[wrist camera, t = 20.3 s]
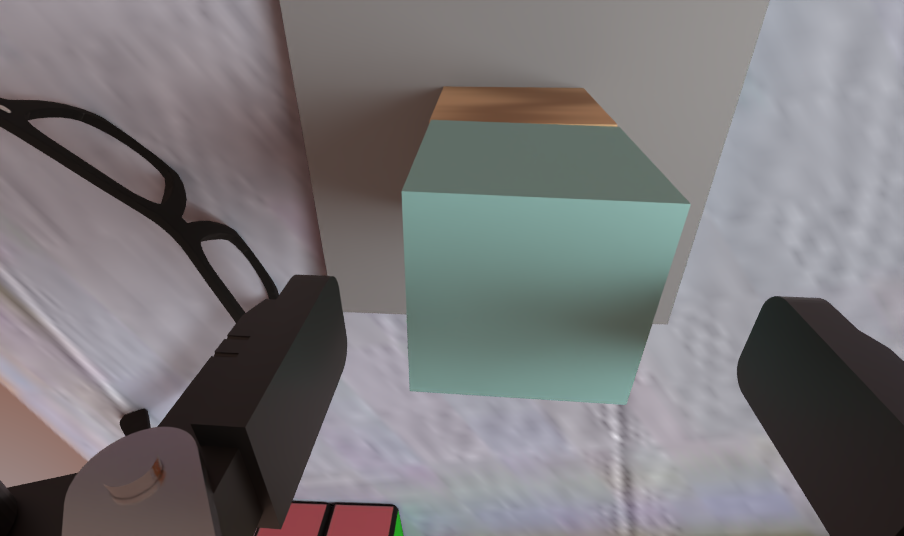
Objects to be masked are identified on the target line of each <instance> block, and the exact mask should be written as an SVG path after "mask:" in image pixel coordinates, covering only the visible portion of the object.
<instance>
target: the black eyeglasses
mask: <svg viewBox="0 0 904 536" xmlns="http://www.w3.org/2000/svg"><path fill="white" fill-rule="evenodd" d="M47 117H62V118H71V119H75V120H79V121H82V122H84V123H87V124H89V125H92V126H94V127H96V128H98V129H100V130H102V131H104V132H105V133H107V134H109V135H111V136H113V137H115V138H116V139H118V140H119V141H121V142H122V143H124V144H126V145H127V146H129V147H130V148H131V149H133V150H134V151H136V152H137V153H139V154H140V155H141V156H142V157H144V158H145V159H146V160H147V161H149V162H150V163H151V164H152V165H153V166H154V167H155V168H156V169H157V170H158V171H159V172H160V173H161V174H162V176H163V177H164V178H165V191H164V196H163V199H162V202H161V204H157V203H154V202H152V201H149V200H147V199H145V198H143V197H141V196H139V195H137V194H135V193H133V192H131V191H130V190H128V189H127V188H125V187H123V186H122V185H120V184H119V183H117V182H116V181H114V180H112V179H111V178H109V177H108V176H106V175H105V174H103V173H102V172H100V171H99V170H97V169H96V168H94V167H93V166H91V165H90V164H88V163H87V162H85V161H84V160H82V159H81V158H79V157H78V156H76V155H75V154H73V153H72V152H70V151H69V150H67V149H65V148H64V147H62V146H61V145H59V144H58V143H56V142H55V141H53V140H52V139H50V138H49V137H47V136H46V135H44V134H43V133H42V132H40V131H39V130H37V129H36V128H35V127H33V126H32V125H31V124H30V123H29V122H28V120H32V119H36V118H47ZM0 127H2V128H4V129H5V130H7V131H9V132H10V133H12V134H14V135H16V136H17V137H19V138H20V139H22V140H24V141H25V142H27V143H29V144H30V145H32V146H33V147H35V148H37V149H38V150H40V151H42V152H43V153H45V154H46V155H48V156H50V157H51V158H53V159H54V160H56V161H58V162H59V163H61V164H62V165H64V166H65V167H67V168H69V169H70V170H72V171H73V172H75V173H76V174H78V175H80V176H81V177H83V178H84V179H86V180H88V181H89V182H91V183H92V184H94V185H95V186H97V187H99V188H100V189H102V190H103V191H105V192H107V193H108V194H110V195H112V196H113V197H115V198H117V199H118V200H120V201H122V202H123V203H125V204H127V205H128V206H130V207H131V208H133V209H135V210H136V211H138V212H140V213H141V214H143V215H144V216H146V217H147V218H149V219H151V220H152V221H154V222H155V223H156V224H158V225H159V226H160V227H161V228H163V229H164V230H165V231H166V232H167V233H168V234H169V235H170V236H172V237H173V238H174V239H175V241H176V242H177V243H178V244H179V245H180V246H181V247H182V249H183V250H184V251H185V253H186V254H187V255H188V257H189V258H190V260H191V261H192V262H193V264H194V265H195V267H196V268H197V270H198V271H199V272H200V274H201V275H202V277H203V278H204V280H205V281H206V282H207V284H208V285H209V287H210V288H211V289H212V291H213V292H214V293H215V295H216V296H217V298H218V299H219V300H220V302H221V303H222V304H223V306H224V307H225V308H226V310H227V311H228V312H229V314H230V315H231V317H232V318H233V319H234V321H235V322H236V323H237V322H238V320H239V319H240V318H241V317H242V315H244V314H245V312H244V310H243V309H242V308H241V306H240V305H239V303H238V302H237V301H236V299H235V298H234V297H233V295H232V294H231V293H230V291H229V290H228V289H227V287H226V286H225V284H224V283H223V282H222V280H221V279H220V278H219V276H218V275H217V273H216V272H215V271H214V269H213V268H212V266H211V265H210V264H209V262H208V260H207V258H206V256H205V254H204V252H203V250H202V247H201V242H202V241H207V240H216V239H223V240H229V241H230V242H231V243H233V244H234V245H235V246H236V247H237V248H238V249H239V250H240V251H241V252H242V253H243V254H244V255H245V257H246V258H247V259H248V260H249V262H250V263H251V264H252V266H253V267H254V269H255V270H256V272H257V274H258V275H259V277H260V278H261V280H262V282H263V284H264V286H265V288H266V291H267V293H268V296H269V299H274V300H276V299H277V298H278V296H279V293H278V290H277V288H276V286H275V284H274V282H273V281H272V279H271V278H270V276H269V275H268V273H267V272H266V270H265V269H264V267H263V266H262V264H261V263H260V262H259V260H258V259H257V258H256V256H255V255H254V253H253V252H252V251H251V249H250V248H249V247H248V246H247V244H246V243H245V242H244V241H243V239H242V238H241V237H240V236H239V235H238V234H237V232H236V231H235V230H233V229H231V228H229V227H227V226H226V225H223V224H220V223H216V222H212V221H197V222H191V223H187V222H186V221H185V220H184V219H183V218H182V215H183V213H184V210H185V207H186V200H187V198H186V193H185V189H184V185H183V183H182V181H181V179H180V177H179V175H178V174H177V173H176V172H175V171H174V170H173V169H172V168H170V167H169V166H168V165H167V164H166V163H164V162H163V161H162V160H161V159H159V158H158V157H157V156H156V155H154V154H153V153H152V152H150V151H149V150H148V149H146V148H145V147H144V146H142V145H141V144H140V143H138V142H137V141H136V140H134V139H133V138H132V137H130V136H129V135H127V134H126V133H125V132H123V131H122V130H120V129H119V128H117V127H116V126H114V125H113V124H111V123H110V122H108V121H107V120H105V119H104V118H102V117H100V116H98V115H96V114H94V113H91V112H88V111H86V110H83V109H80V108H77V107H73V106H70V105H66V104H61V103H55V102H48V101H40V100H7V99H2V98H0ZM120 426H121V429H122V431H123V432H124V434H125V436H128V435H130V434H132V433H135V432H138V431H141V430H145V429H149V428H151V427H150V420H149V415H148V411H147V410H146V409H142V410H138V411H135V412H132V413H129V414H126V415H124V416H123V418H122V419H121V420H120Z"/></svg>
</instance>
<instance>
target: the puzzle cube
mask: <svg viewBox="0 0 904 536" xmlns="http://www.w3.org/2000/svg"><path fill="white" fill-rule="evenodd" d="M254 536H403V531H402V526H401V520H400V515H399V510H398V508H397V507H396V506H395V505H370V504H340V503H337V504H336V505H334V506H333V507H332V506H331V505H330V504H329V503H311V502H292V503H291V505H290V508H289V511H288V513H287V516H286V518H285V521H284V523H283V526H282V529H269V528H257V530H256V533H255V535H254Z"/></svg>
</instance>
